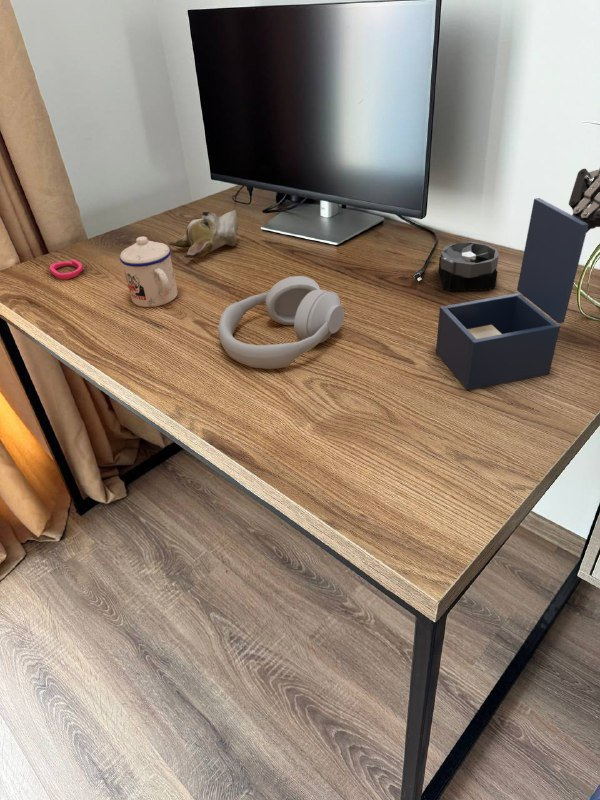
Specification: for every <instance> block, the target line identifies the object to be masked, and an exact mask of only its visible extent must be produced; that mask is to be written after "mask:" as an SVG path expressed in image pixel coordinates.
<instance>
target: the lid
mask: <svg viewBox="0 0 600 800" xmlns="http://www.w3.org/2000/svg"><path fill="white" fill-rule="evenodd" d="M531 209H532V210H531V214H530V218H529V224H528V230H527V234H526V240H525V246H524V251H523V256H522V261H521V267H520V271H519V278H518V283H517V288H516V291H517V292H518V293H519V294H521V295H522V296H523V297H524V298H526V299H527V300H528V301H529V302H531V303H532V304H533V305H534V306H536V307H537V308H538V309H539V310H540V311H542V312H543V313H544V314H545V315H547V316H548V317H549V318H550V319H552V320H553V321H554V322H555V323H557V324H563V323H565V320H566V316H567V311H568V308H569V304H570V299H571V296H572V292H573V287H574V284H575V279H576V275H577V271H578V268H579V264H580V260H581V256H582V251H583V248H584V244H585V240H586V235H587V233H588V232H587V228H588V224H587V223H585V222H583V221H581V220H580V219H578V218H576V217H574V216H572V215H573V214H570V213H568V212H567V211H565V210H563V209H561V208H559V207H557V206H555V205H553V204H551V203H550V202H548V201H546V200H544V199H542V198H541V197H538V198H537V197H536V198H533V203H532V208H531ZM586 232H587V233H586Z"/></svg>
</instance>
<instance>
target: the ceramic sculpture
mask: <svg viewBox="0 0 600 800" xmlns="http://www.w3.org/2000/svg"><path fill="white" fill-rule="evenodd" d="M237 216H238V215H237V210H236V209H233V210H231V211H228V212H226V213H224V214H222V215H221V216H217V215H216V214H215V213H212V212H210V211H203V212H202V214H201V217H197V218H195V219H192V220H190V222H189V223H188V225H187V227H186V228H185V233H184V234H183V235H182V236H181V237H179V238H177V240H176V241H168V243H167V244H168V245H169V246H172V247H177V248H183V249H187V248H188V250H187V252H186V254H184V258H187V259H199V258H203V257H204V256H206V255H207V254H209V253H211V252H213V251H216V250H217V249H218V248H221V247H223V246H225V245H226V246H229V247H234V246H236V243H237V234H238V229H239V226H238V217H237Z"/></svg>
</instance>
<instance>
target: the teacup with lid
mask: <svg viewBox="0 0 600 800" xmlns="http://www.w3.org/2000/svg"><path fill="white" fill-rule="evenodd" d="M171 251H172V250H171V249H170V247H169V246H168V245H167V244H165V243H162V242H158V241H152V240H149V239H148V237H147V236H138V237H137V238H136V239H135V243H133V244H132V245H130V246H127V247H126V248H125V249H123V250H122V251H121V253H120V255H119V261H120V263H122V268H123V271H124V275H125V279H126V282H127V286H128V287H127V288H128V290H129V294H130V298H131V301H132V303H133V304H134V305H136V306H138V307H143V308H152V307H153V308H154V307H155V308H156V307H160V306H163V305H167V304H169V303H170V302H172V301H173V300H175V299H176V298H177V296H178V286H177V281H176V277H175V272H174V266H173V263H172V257H171V253H172V252H171Z"/></svg>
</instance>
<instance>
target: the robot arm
mask: <svg viewBox="0 0 600 800" xmlns="http://www.w3.org/2000/svg"><path fill="white" fill-rule="evenodd" d="M568 206H569V207H570V208H571V210H572V214H571V215H572V216H574V217H576V218H578V219H580V220H581V221H583V222H585V223H587V224H588V228H587V232H586V234H587V233H588V232H589V231H590V230H594V229H596V228H600V167H599V168H597V169H595V170H590V171H588V169H587V168H581V169H580V170H579V171H577V175H576V177H575V182H574V183H573V188H572V192H571V194H570V198H569V200H568Z"/></svg>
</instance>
